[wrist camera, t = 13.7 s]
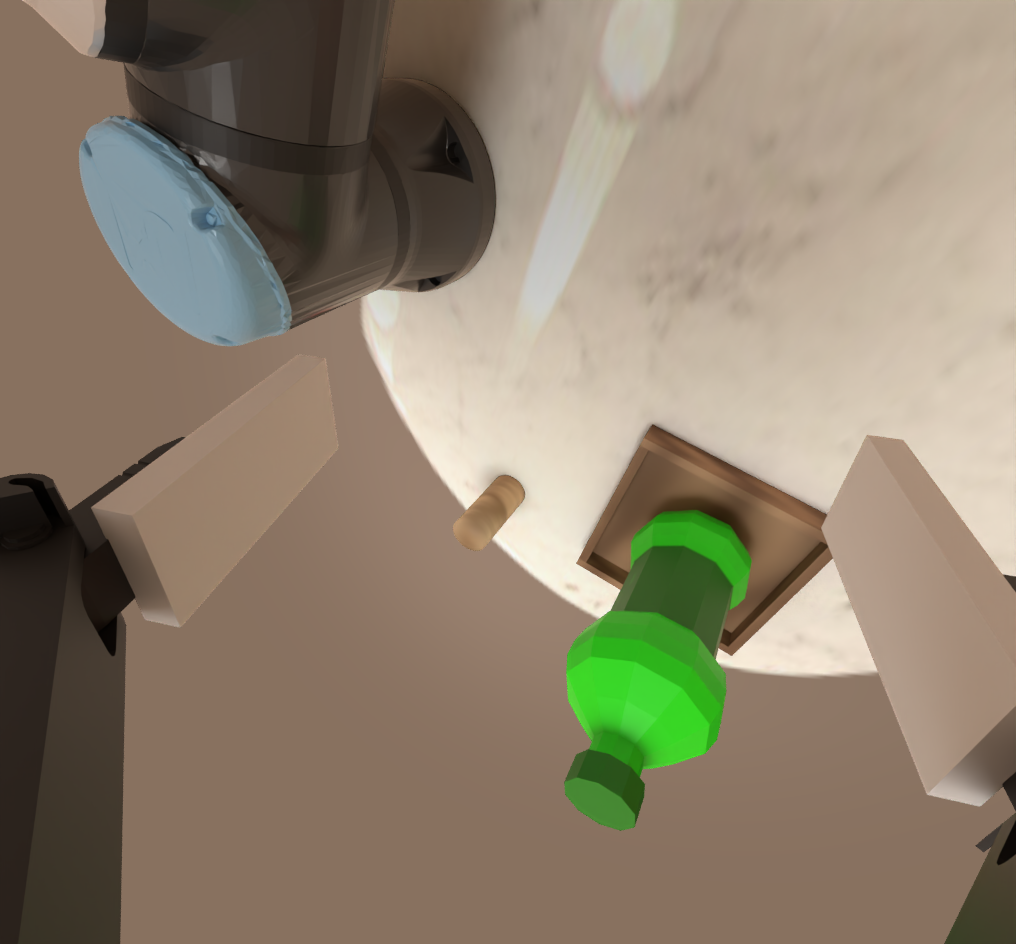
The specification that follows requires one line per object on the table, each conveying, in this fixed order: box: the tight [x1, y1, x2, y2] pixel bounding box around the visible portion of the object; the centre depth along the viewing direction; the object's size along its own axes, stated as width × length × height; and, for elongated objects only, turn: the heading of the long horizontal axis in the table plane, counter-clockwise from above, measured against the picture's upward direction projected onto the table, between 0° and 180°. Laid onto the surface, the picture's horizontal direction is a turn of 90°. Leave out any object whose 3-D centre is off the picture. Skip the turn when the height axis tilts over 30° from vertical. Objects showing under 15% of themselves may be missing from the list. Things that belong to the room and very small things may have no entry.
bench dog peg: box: [453, 475, 525, 551], centre depth 55 cm, size 4×4×8 cm
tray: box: [576, 425, 833, 656], centre depth 49 cm, size 17×17×2 cm
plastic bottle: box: [564, 510, 752, 831], centre depth 40 cm, size 10×10×25 cm
